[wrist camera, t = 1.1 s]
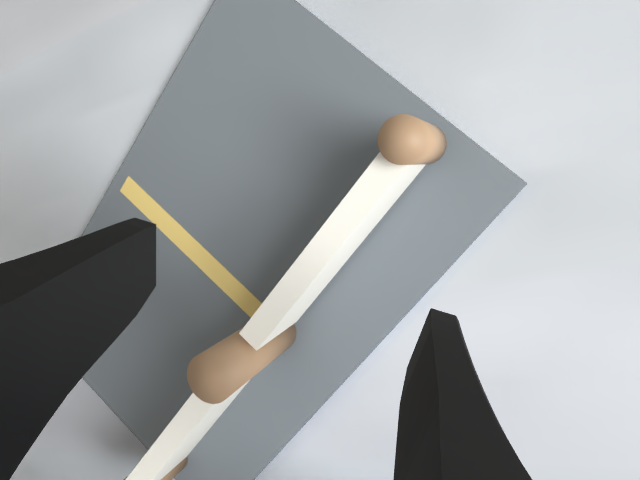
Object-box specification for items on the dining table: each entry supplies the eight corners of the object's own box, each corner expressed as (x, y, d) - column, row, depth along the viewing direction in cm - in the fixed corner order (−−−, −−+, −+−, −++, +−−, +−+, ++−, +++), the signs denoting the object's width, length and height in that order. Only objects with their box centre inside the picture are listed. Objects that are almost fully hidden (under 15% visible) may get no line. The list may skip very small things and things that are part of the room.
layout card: (526, 183, 20) (527, 183, 20) (218, 517, 28) (213, 523, 28) (244, -41, 23) (239, -44, 23) (37, 321, 31) (31, 323, 31)
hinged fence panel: (301, 326, 24) (252, 363, 19) (276, 303, 24) (223, 334, 20) (455, 140, 20) (437, 134, 16) (424, 116, 21) (398, 103, 16)
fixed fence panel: (274, 302, 25) (204, 342, 19) (304, 330, 24) (241, 380, 19) (156, 451, 29) (71, 520, 23) (180, 477, 28) (99, 554, 23)
